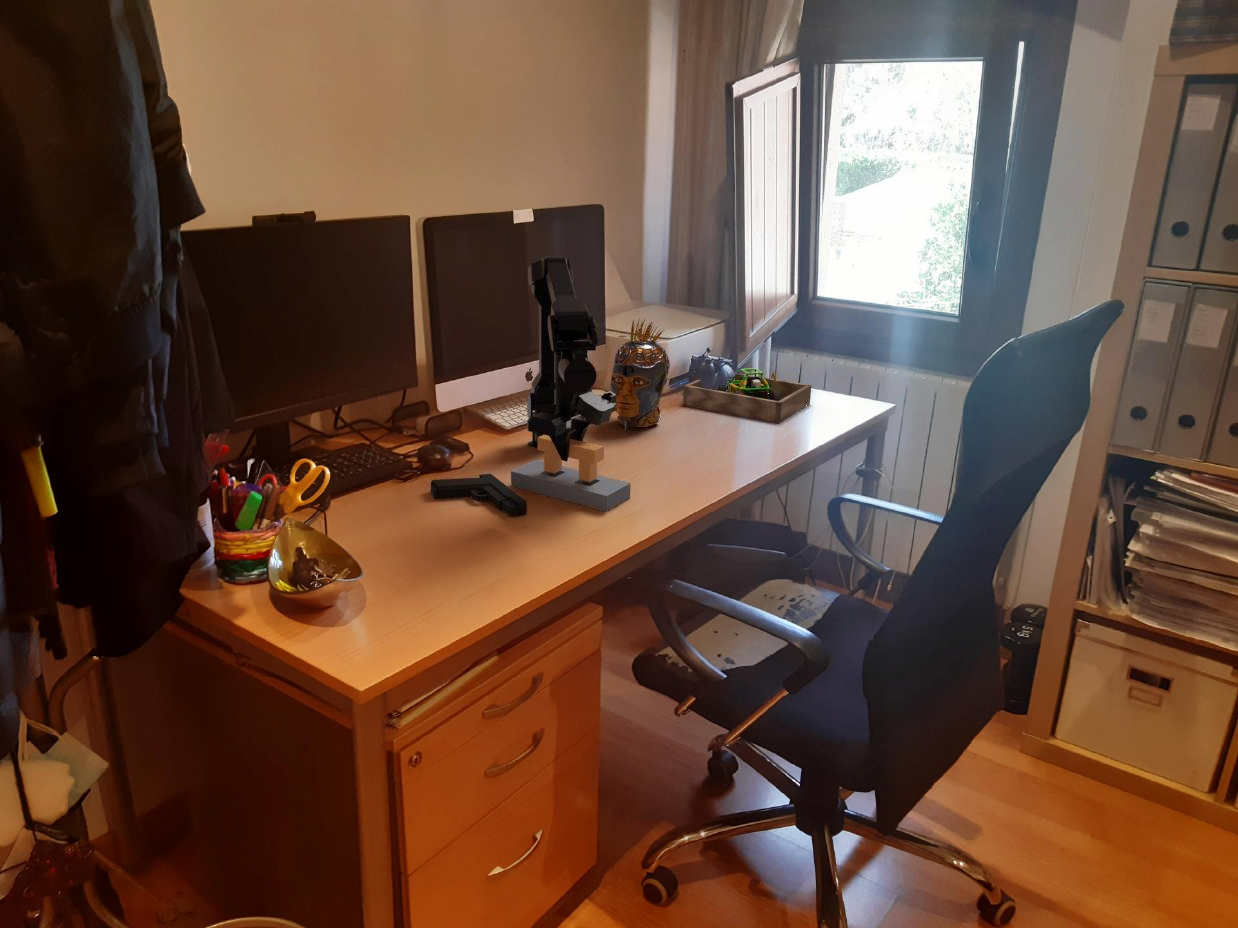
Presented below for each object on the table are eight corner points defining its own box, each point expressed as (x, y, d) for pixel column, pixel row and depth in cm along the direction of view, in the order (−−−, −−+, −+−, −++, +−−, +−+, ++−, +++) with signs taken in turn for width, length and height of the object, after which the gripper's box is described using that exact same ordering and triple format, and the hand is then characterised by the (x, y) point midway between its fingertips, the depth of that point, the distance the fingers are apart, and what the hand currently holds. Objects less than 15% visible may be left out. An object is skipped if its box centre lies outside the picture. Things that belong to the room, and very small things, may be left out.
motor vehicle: (755, 393, 241) (758, 354, 238) (784, 414, 224) (787, 372, 220) (714, 395, 239) (716, 356, 235) (739, 417, 221) (742, 374, 217)
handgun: (464, 515, 156) (528, 502, 162) (425, 479, 171) (484, 469, 177) (465, 530, 157) (528, 517, 163) (426, 493, 172) (485, 482, 178)
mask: (596, 432, 208) (597, 323, 200) (631, 408, 227) (633, 308, 218) (647, 439, 204) (650, 329, 195) (678, 415, 222) (682, 313, 214)
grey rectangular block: (511, 485, 176) (510, 471, 175) (536, 473, 182) (536, 459, 181) (606, 511, 165) (607, 496, 164) (630, 497, 171) (630, 482, 170)
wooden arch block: (537, 469, 174) (537, 437, 172) (547, 465, 177) (547, 433, 174) (594, 484, 168) (594, 450, 165) (603, 479, 170) (603, 446, 168)
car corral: (683, 404, 231) (683, 385, 229) (718, 388, 247) (719, 370, 245) (778, 423, 218) (780, 402, 216) (809, 404, 234) (811, 385, 232)
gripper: (577, 396, 154) (576, 482, 160) (634, 374, 169) (632, 453, 174) (524, 385, 160) (526, 469, 165) (585, 365, 175) (584, 442, 180)
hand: (569, 458), depth 171 cm, fingers closed on wooden arch block, 3 cm apart
